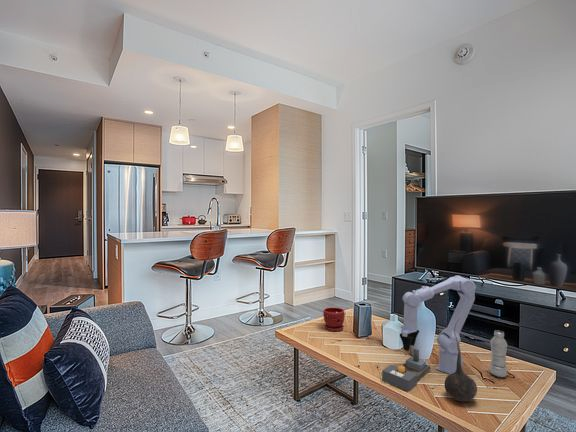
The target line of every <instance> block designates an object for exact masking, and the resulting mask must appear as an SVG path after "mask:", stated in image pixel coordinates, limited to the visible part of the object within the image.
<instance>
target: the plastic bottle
mask: <svg viewBox="0 0 576 432" xmlns="http://www.w3.org/2000/svg"><path fill="white" fill-rule="evenodd" d="M493 332H494V333H493V337H491V339H490V343H489V344H490V349H491V350H490V351H491V359H490V365H489V372H490V373H491V375H493V376H494V377H497V378H506V377H507V375H508V367H507V359H506V358H507V351H508V343H507V340H506V339H505V338H504V337H505V332H504V331H502V330H498V329H497V330H496V329H495V330H494V331H493Z"/></svg>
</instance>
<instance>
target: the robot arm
mask: <svg viewBox="0 0 576 432" xmlns="http://www.w3.org/2000/svg"><path fill="white" fill-rule="evenodd" d="M476 289H477V286H476V284H475V283H474V281H473V280H472V279H470V278H465V277H464V276H461V275H459V274H458V275H454V276H449V278H448V279H445V280H443V281H442V282H439V283H437V284H435V285H433V286H428V285H422V286H421V288H419V289H418V288H417V289H416V290H414V289H413V290H412V292H411V291H407V292H405V293H404V295H402V299H401V300H402V301H403V303H404V306H403V325H401V326H400V329H402V332H401V333H400V334H399V338H400V339H401V342H402V343H401V344H402V347H403V350H404V351H406V352H410V349H411V346H413V347H414V346H415V344H416V340H417V337H418V335H419V333H420V330H419V329H418V328H417V327H418V325H417V323H418V322H417V321H418V307H419V306H420V304H421V303H423V302H425V301H428V300H431V299H432V298H434V296H435V295H436V294H439V293H441V292H445V291H448V290H453V291H456V292H457V294H458V296H459V301H458V302H457V305H456V307H455V309H454V311H453V313H452V316H451V319H450V320H449V323H448V325H447V327H446V328H444V329H442V330H441V332H440V333H439V334H438V335H437V338H436V342H437V344H438V345H439V347H438V349H439V351H438V352H439V353H438V355H439V357H438V365H437V366H436V367H435V370H438V371H441V372H443V373H447V374H448V375H450V374H452V373H454V372H455V371H456V368H457V356H458V348H457V341H456V337H457V340H458V343H459V346H460V347H461V345H460V344H461V341H462V340H461V336H460V333H461V331H462V328H463V327H464V324H465V322H466V319H467V318H468V315H469V313H470V311H471V309H472V306H473V304H474V303H475V301H476V295H475V293H476V292H475V291H476ZM457 321H458V322H457ZM456 322H457V324H456ZM455 324H456V327H455ZM454 328H455V334H456V337H455V334H454ZM461 365H462V366H463V354H461Z"/></svg>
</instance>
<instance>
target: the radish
mask: <svg viewBox="0 0 576 432" xmlns="http://www.w3.org/2000/svg"><path fill="white" fill-rule="evenodd" d="M457 322H458V321H457ZM457 322H456V324H457ZM456 324H455V327H456ZM454 334H455V328H454ZM455 337H456V334H455ZM456 341H457V348H458V352H457V353H458V356H457V368H456V371H455V372H454V373H452V374H448V375H447V376H446V378H445V380H444V389H445V392H446V394H448V396H449V397H451V398H452V399H453V400H456V401H458V402H464V403H465V402H469V401H472V400H473V399H475V397H476V396H477V393H478V386H477V383H476V381H475V380H474V379H473V378H472V377H470V376H469V375H468V374H466V373H465V372H464V370H463V364H462V365H461V355H462V354H461V353H462V351H461V348H460V347H461V345H460V346H459V343H458V340H457V337H456Z"/></svg>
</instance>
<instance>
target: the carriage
mask: <svg viewBox="0 0 576 432" xmlns="http://www.w3.org/2000/svg"><path fill="white" fill-rule="evenodd" d="M405 362H406V367H408V368H411V369H414V370H416V371H419V372H420V371H422V370H423V369H424V368H425V367H426V364H427V360H423V359H420V350H419V349H417V348H413V352H412V355H411V356H409V358H407V359H405Z"/></svg>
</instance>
